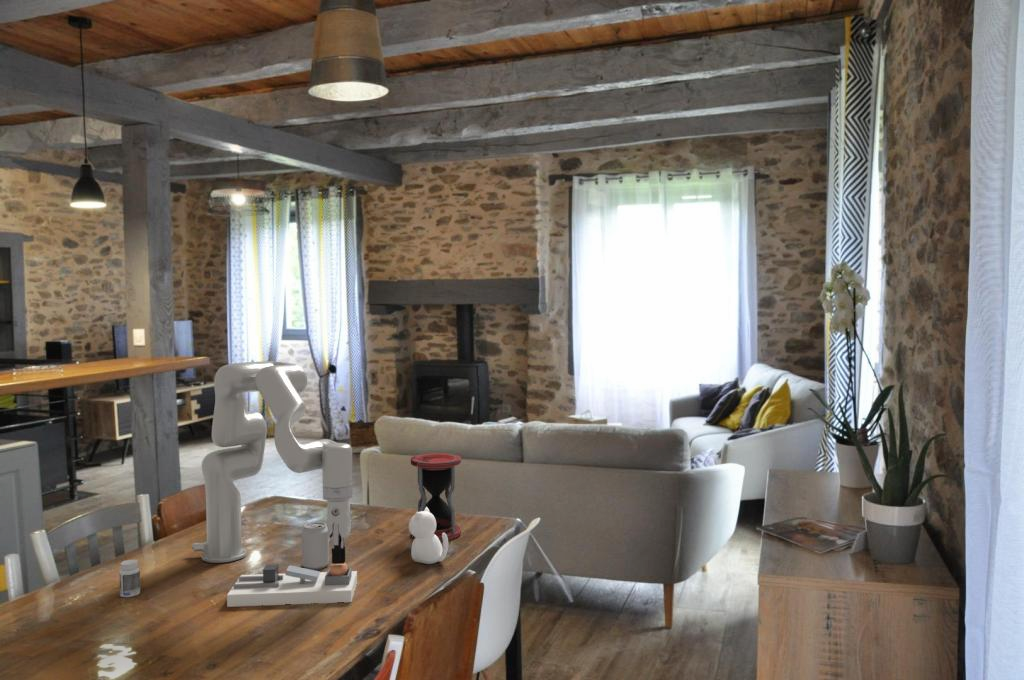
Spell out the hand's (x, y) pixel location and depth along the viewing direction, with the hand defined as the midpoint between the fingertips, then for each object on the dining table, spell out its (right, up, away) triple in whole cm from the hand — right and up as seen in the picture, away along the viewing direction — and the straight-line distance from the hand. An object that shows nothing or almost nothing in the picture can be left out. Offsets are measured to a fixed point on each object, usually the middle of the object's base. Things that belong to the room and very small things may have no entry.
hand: (338, 562), depth 198 cm
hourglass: (+20, -6, +51) cm, 55 cm away
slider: (-17, -5, -1) cm, 18 cm away
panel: (-11, -8, -1) cm, 14 cm away
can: (-11, -7, +20) cm, 24 cm away
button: (0, -3, 0) cm, 3 cm away
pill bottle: (-53, -8, -1) cm, 54 cm away
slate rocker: (-9, -3, -1) cm, 9 cm away
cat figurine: (+21, -7, +25) cm, 33 cm away
